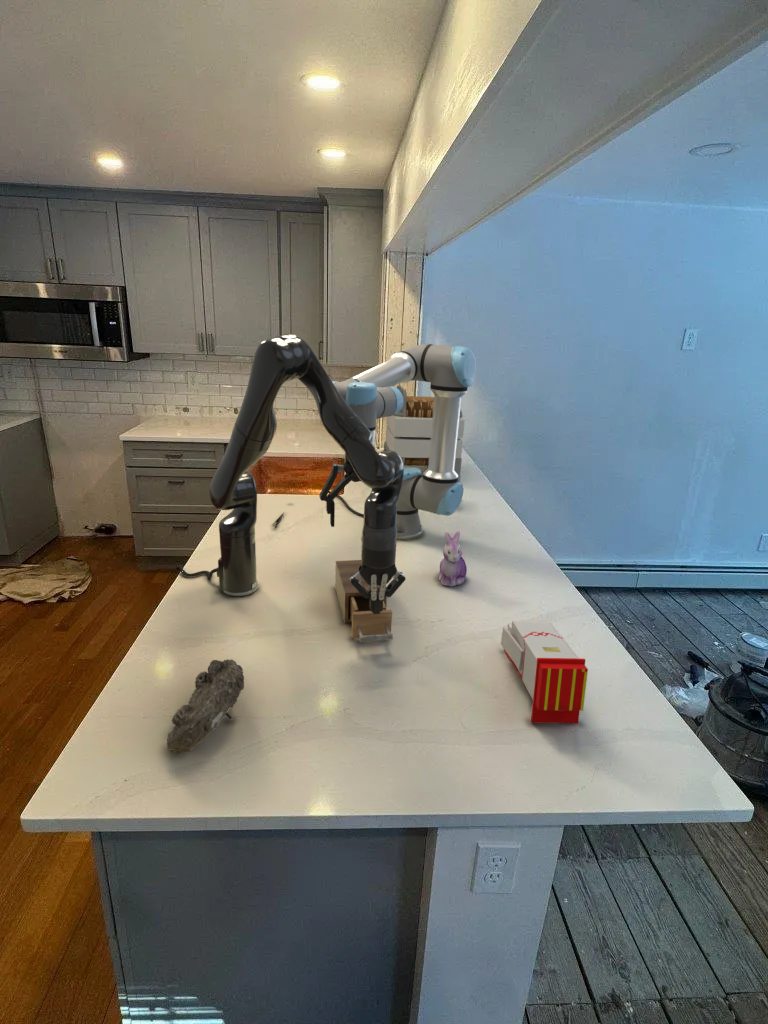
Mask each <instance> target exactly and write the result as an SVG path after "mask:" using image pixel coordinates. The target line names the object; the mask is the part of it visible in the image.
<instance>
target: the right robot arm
mask: <svg viewBox="0 0 768 1024" xmlns="http://www.w3.org/2000/svg"><path fill="white" fill-rule="evenodd" d="M476 377H477V362H476V356H475V355H474V352H473V350H471V348H468V347H466V346H461V345H460V346H459V345H446V344H432V343H421V344H416V345H413V346H409V347H406V348H404V349H402V350H400V351H398V352H395V353H393V354H392V355H391V356H390V357H389V359H388V360H386V361H383V362H382V363H380V364H377V365H376V366H373V367H371V368H369V369H366V370H365V371H362V372H360V373H358V374H356V375H354V376H352V377H350V378H348V379H345V380H343V381H338V380H334V381H332V380H331V381H332V382H333V384H334V385H335V387H336V389H337V390H338V392H339V393H340V395H341V396H342V397H343V399H344V400H345V401H346V403H347V404H348V405H349V406H350V408H351V409H352V410H353V411H354V412H355V413H356V414H357V416H358V417H359V418H360V419H361V420H362V421H363V422H364V424H365V425H366V426H367V427H368V428H369V430H370V431H371V433H372V436H373V438H372V441H371V444H372V445H373V447H374V448H375V445H376V427H377V420H378V419H383V418H386V417H387V416H388V417H389V416H392V415H394V414H396V413H398V412H399V411H400V410H401V409H402V406H403V396H402V393H401V392H400V391H399V390H398V389H397V387H396V386H397V385H399V384H407V383H409V382H413V381H416V382H417V381H418V382H426V383H430V385H429V386H430V387H429V389H430V391H431V392H432V394H433V395H434V396H433V397H434V407H433V419H432V430H431V442H430V453H429V465H428V466H427V468H426V470H424V471H423V472H422V470H421V468H419V467H412V466H411V467H408V466H406V467H404V476H403V482H402V487H401V491H400V495H399V498H398V502H397V517H396V531H397V539H396V541H410V540H415V539H418V538H420V537H421V536H422V535H423V530H424V527H423V524H421V518H420V515H419V510H420V511H424V512H428V513H432V514H436V515H438V516H439V515H441V516H445V517H448V516H449V517H450V516H452V515H453V514H454V513H456V511H457V510H458V508H459V507H460V504H461V502H462V500H463V496H464V485H463V483H461V481H460V482H458V474H457V473H456V472H455V470H454V468H455V458H456V448H457V438H458V428H459V419H460V409H461V410H462V407H461V406H462V398H463V396H464V395H466V394H467V393H468V388H470V387H472V386H473V384H474V383H475V379H476ZM341 471H343V473H345V474H344V475H343V477H342V478H341V480H340V481H339V482H337V484H336V485H335V486H334V487H333V489H332V490H331V488H332V486H333V484H334V483H335V481H336V479H337V477H338V474H340V473H341ZM350 482H353V483H358V482H361V483H363V482H362V481H361V480H360V479H359V477H358V476H357V474H356V472H355V471H354V469H353V467H352V465H351V463H350V461H349V459H348V457H347V455H346V453H345V452H344V464H337V463H336V462H334V463H332V465H331V471H330V473H329V475H328V478H327V479H326V481H325V483H324V485H323V487H322V488H321V491H320V492H319V495H318V496H319V499H320V501H321V502H323V501H324V502H326V503H325V511H326V514H327V515H330V516H329V517H330V518H329V524H330V526H331V528H335V516H336V515H335V509H336V508H335V507H336V506H335V505H336V503H335V499H336V497H337V498H339V500H340V501H341V502H342V503H343V504H344V506H345V507H346V508H347V509H348V510H349V511H350V512H352V513H353V514H355V515H357V516H360V517H362V518H364V513H361V512H359V511H356V510H354V509H353V508H352V507H350V506H349V504H348V503H347V501H346V500H345V499H344V498H343V497H342V496H341V495H339V494H340V493H341V492H342V491H343V489H344V488H345V487H346V486H347V485H348V484H350ZM330 490H331V491H330Z"/></svg>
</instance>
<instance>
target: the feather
mask: <svg viewBox="0 0 768 1024" xmlns="http://www.w3.org/2000/svg"><path fill="white" fill-rule="evenodd" d="M290 505H291V503H290ZM284 514H285V512H283V513H282V514H281V515H279V516H278V518H277V519H276V520H275V521H274V522H273V525H274V529H276V528H277V526H278V525H279V522H280V521H281V519H282V517H283V515H284Z"/></svg>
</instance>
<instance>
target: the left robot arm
mask: <svg viewBox="0 0 768 1024" xmlns="http://www.w3.org/2000/svg"><path fill="white" fill-rule="evenodd" d="M295 379H298V380H299V381H300V382H301V383H302V384H303V385H304V386H305V387H306V388H307V389H308V391H309V392H310V393H311V395H312V396H313V399H314V402H315V405H316V407H317V412H318V415H319V418H320V422H321V423H322V425H323V428H324V429H325V430H326V432H327V433H328V434H329V436H330V437H331V438H332V439H333V441H335V443H336V444H337V445H338V446H339V448H341V450H342V451H343V452H344V454H345V453H346V455H347V457H348V459H349V461H350V463H351V465H352V467H353V469H354V471H355V472H356V474H357V476H358V477H359V479H360V480H361V481H362V482H361V481H360V482H361V483H363V484H364V485H365V486H367V487H368V488H370V489H371V491H370V493H369V495H368V496H367V497H366V499H365V501H364V505H363V514H364V517H363V523H362V524H363V525H362V530H361V537H360V540H361V553H360V554H361V556H360V560H361V565H360V567H359V572H357V573H356V574H355V575H353V574H352V575H350V576H349V578H350V581H351V583H352V585H353V586H354V587H355V588H356V589H357V590H358V591H359V593H360V594H361V595H362V596H363V597H364V598H365V599H367V598H369V599H370V604H369V608H370V610H371V612H373V615H374V614H380V612H382V610H383V599H384V598H385V597H387V598H391V597H392V596H393V595H394V594H395V593H396V591H398V589H399V588H400V587H401V586H402V585H403V583H404V582H405V581H406V576H405V574H404V573H403V572H402V571H399V570H398V568H397V566H396V555H397V540H396V539H397V531H396V517H397V502H398V498H399V495H400V491H401V487H402V482H403V476H404V468H405V465H404V466H403V462H402V459H401V457H400V456H399V455H398V454H397V453H396V452H394V451H392V450H384V449H383V450H382V451H379V452H378V451H377V450H376V447H375V446H374V445H372V444H371V441H372V438H373V436H372V433H371V431H370V430H369V428H368V427H367V426H366V425H365V424H364V422H363V421H362V420H361V419H360V418H359V417H358V416H357V414H356V413H355V412H354V411H353V410H352V409H351V408H350V406H349V405H348V404H347V403H346V401H345V400H344V399H343V397H342V396H341V395H340V393H339V392H338V390H337V389H336V387H335V385H334V384H333V382H332V379H331V377H330V376H329V374H328V372H327V371H326V370H325V368H324V366H323V364H322V363H321V362H320V360H319V358H318V356H317V355H316V353H315V352H314V351H313V349H312V348H311V346H310V345H309V344H308V342H307V341H306V340H305V339H304V338H303V337H302V336H300V335H299V334H295V333H288V334H282V335H277V336H273V337H270V338H266V339H265V340H263V341H262V342H260V344H258V346H257V347H256V350H255V352H254V355H253V359H252V364H251V369H250V373H249V378H248V383H247V388H246V390H245V393H244V397H243V400H242V403H241V406H240V408H239V412H238V415H237V416H236V419H235V422H234V425H233V428H232V431H231V434H230V438H229V441H228V444H227V446H226V449H225V451H224V454H223V456H222V458H221V461H220V463H219V465H218V466H217V468H216V470H215V472H214V474H213V476H212V479H211V481H210V484H209V499H210V502H211V505H212V506H213V507H214V508H215V509H217V510H219V511H230V510H231V511H230V512H229V513H228V514H227V515H226V516H224V517H223V518H222V519H221V520H219V523H218V532H219V547H220V548H219V549H220V557H219V558H218V559H217V567H216V568H213V569H211V570H210V571H209V570H201V571H196V572H193V573H192V572H191V573H189V572H186V571H185V569H184V567H183V565H177V566H176V568H175V569H176V570H177V571H178V570H180V573H181V574H182V575H183V576H184V577H188V578H193V577H197V576H200V575H201V576H202V575H207V576H206V577H207V579H208V580H210V579H212V578H213V574H214V573H216V577H217V578H218V585H219V592H220V593H223V594H225V595H227V596H230V597H246V596H248V595H251V594H254V593H255V592H256V591H257V590H258V577H257V576H258V574H257V572H258V571H257V548H256V547H257V546H256V523H257V519H258V517H257V516H258V488H257V487H258V486H257V483H256V480H255V478H254V476H253V474H252V473H251V472H249V471H248V470H249V469H251V468H252V467H253V466H254V465H255V464H256V463H257V462H258V461H259V460H260V459H262V458H263V457H264V456H265V454H266V453H267V452H268V450H269V449H270V446H271V444H272V443H273V438H274V437H275V434H276V432H277V429H278V428H277V427H278V421H277V416H276V413H275V409H274V404H275V400H276V399H277V396H278V394H279V391H280V389H281V388H282V386H283V385H284V384H285V383H287V382H290V381H292V380H295ZM373 446H374V447H373ZM183 569H184V570H183ZM182 571H183V572H182ZM361 576H362V578H363V579H364V580H365V582H366V583H367V584H368V585H369V591H368V590H367V589H366V588H365V587H364V586H363V585H362V584H361ZM377 586H378V587H377ZM376 591H377V593H376Z"/></svg>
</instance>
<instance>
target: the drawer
mask: <svg viewBox="0 0 768 1024" xmlns="http://www.w3.org/2000/svg"><path fill="white" fill-rule="evenodd" d="M369 604H370V599H369V598H367V599H365V598H364V597H363V596H349V608H348V611H349V615H350V618H351V622H350V623H351V638H352V639H358V640H359V642H360V643H365V642H379V641H390V640H391V641H392V640H393V639H394V634H393V633H392V623H393V622H392V621H393V610H392V609H387V605H386V606H385V604H384V601H383V610H382V612H380V614H374V615H373V612H371V610H370V608H369Z"/></svg>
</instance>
